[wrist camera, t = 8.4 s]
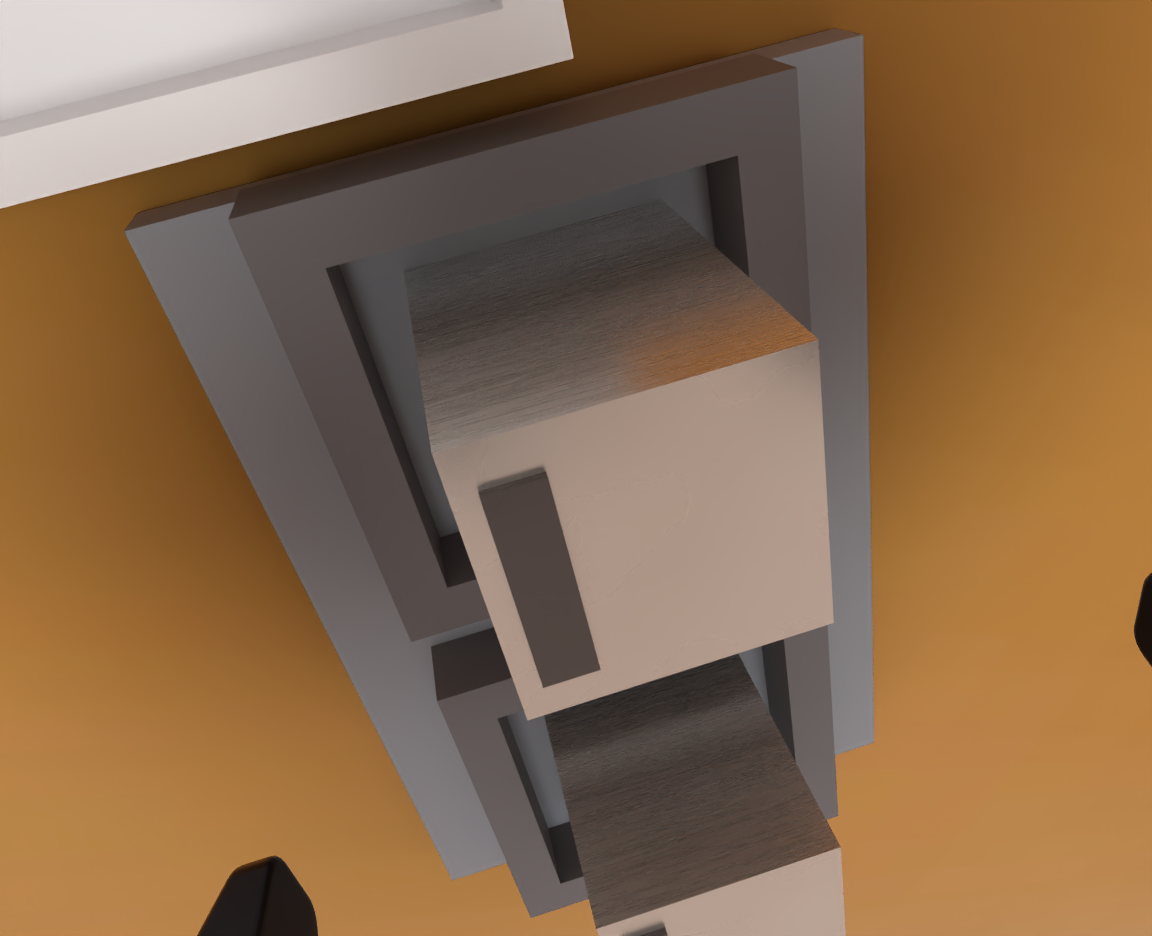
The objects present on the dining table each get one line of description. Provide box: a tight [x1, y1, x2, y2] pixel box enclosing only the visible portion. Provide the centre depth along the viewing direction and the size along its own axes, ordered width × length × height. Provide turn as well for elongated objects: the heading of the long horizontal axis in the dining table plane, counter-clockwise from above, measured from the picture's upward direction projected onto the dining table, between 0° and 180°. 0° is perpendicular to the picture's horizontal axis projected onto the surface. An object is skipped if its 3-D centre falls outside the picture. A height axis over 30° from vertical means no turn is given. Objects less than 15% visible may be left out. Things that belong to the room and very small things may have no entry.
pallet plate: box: [124, 28, 874, 918], centre depth 18 cm, size 12×18×3 cm, turn 12°
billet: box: [544, 654, 845, 936], centre depth 19 cm, size 4×4×6 cm
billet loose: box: [403, 199, 834, 720], centre depth 13 cm, size 4×4×6 cm
